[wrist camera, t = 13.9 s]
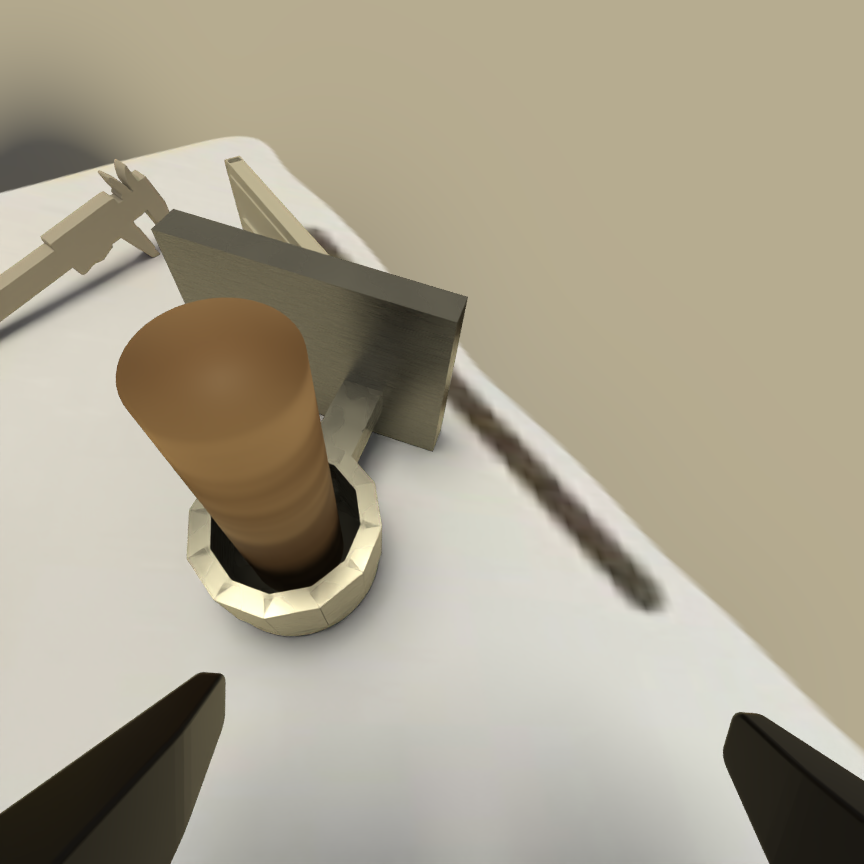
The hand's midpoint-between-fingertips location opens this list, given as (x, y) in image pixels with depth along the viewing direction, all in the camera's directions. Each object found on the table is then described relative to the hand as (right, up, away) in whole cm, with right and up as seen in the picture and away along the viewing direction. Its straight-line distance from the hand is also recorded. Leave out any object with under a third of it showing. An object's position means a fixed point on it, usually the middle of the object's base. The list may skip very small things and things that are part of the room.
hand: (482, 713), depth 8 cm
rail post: (-7, 0, +13) cm, 15 cm away
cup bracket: (-9, +2, +16) cm, 18 cm away
